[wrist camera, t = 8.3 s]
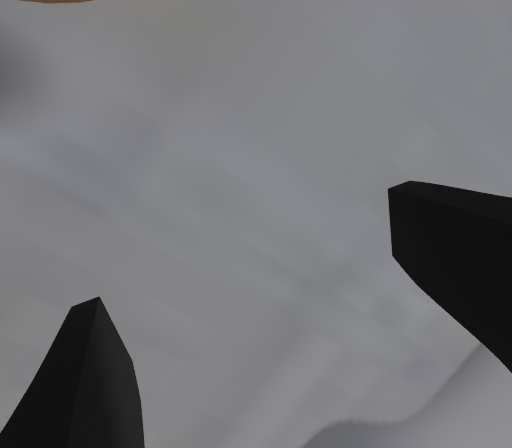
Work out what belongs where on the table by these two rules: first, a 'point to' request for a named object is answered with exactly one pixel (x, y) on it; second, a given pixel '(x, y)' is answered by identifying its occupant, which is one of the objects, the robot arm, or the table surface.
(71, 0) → the lid
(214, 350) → the table surface
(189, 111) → the table surface
